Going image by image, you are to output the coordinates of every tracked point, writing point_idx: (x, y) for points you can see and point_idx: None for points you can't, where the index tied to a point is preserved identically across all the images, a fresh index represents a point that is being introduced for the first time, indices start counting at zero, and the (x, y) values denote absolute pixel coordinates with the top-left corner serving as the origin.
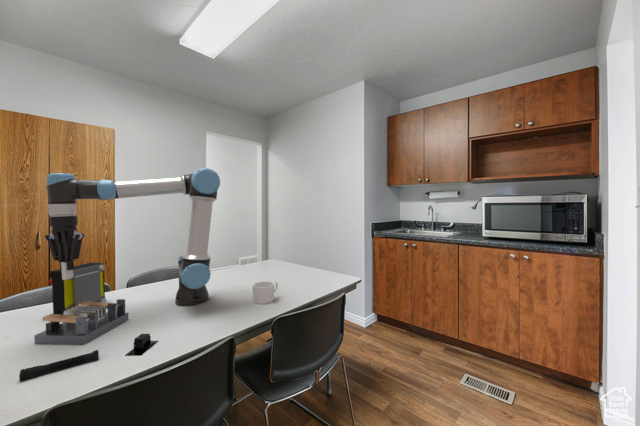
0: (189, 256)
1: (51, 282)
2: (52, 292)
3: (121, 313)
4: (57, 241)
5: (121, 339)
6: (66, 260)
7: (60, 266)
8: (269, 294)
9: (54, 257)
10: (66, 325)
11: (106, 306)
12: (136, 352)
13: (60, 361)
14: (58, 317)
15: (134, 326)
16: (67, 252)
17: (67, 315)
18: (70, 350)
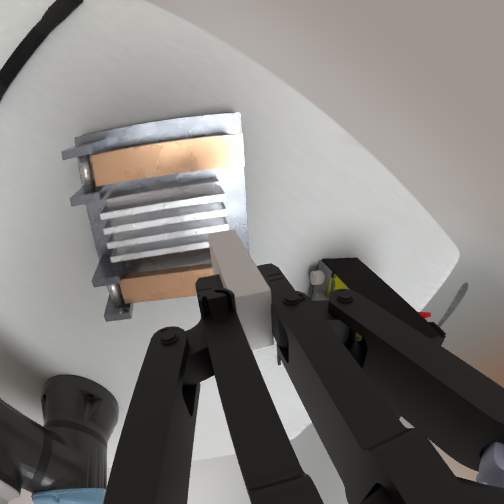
0: None
1: (420, 313)
2: (396, 293)
3: (119, 287)
4: (408, 463)
5: (17, 186)
6: (216, 312)
7: (283, 279)
8: None
9: (356, 304)
10: (205, 180)
11: (135, 276)
12: None
13: (24, 43)
14: (185, 147)
15: (55, 255)
16: (218, 381)
17: (173, 170)
18: (87, 104)
